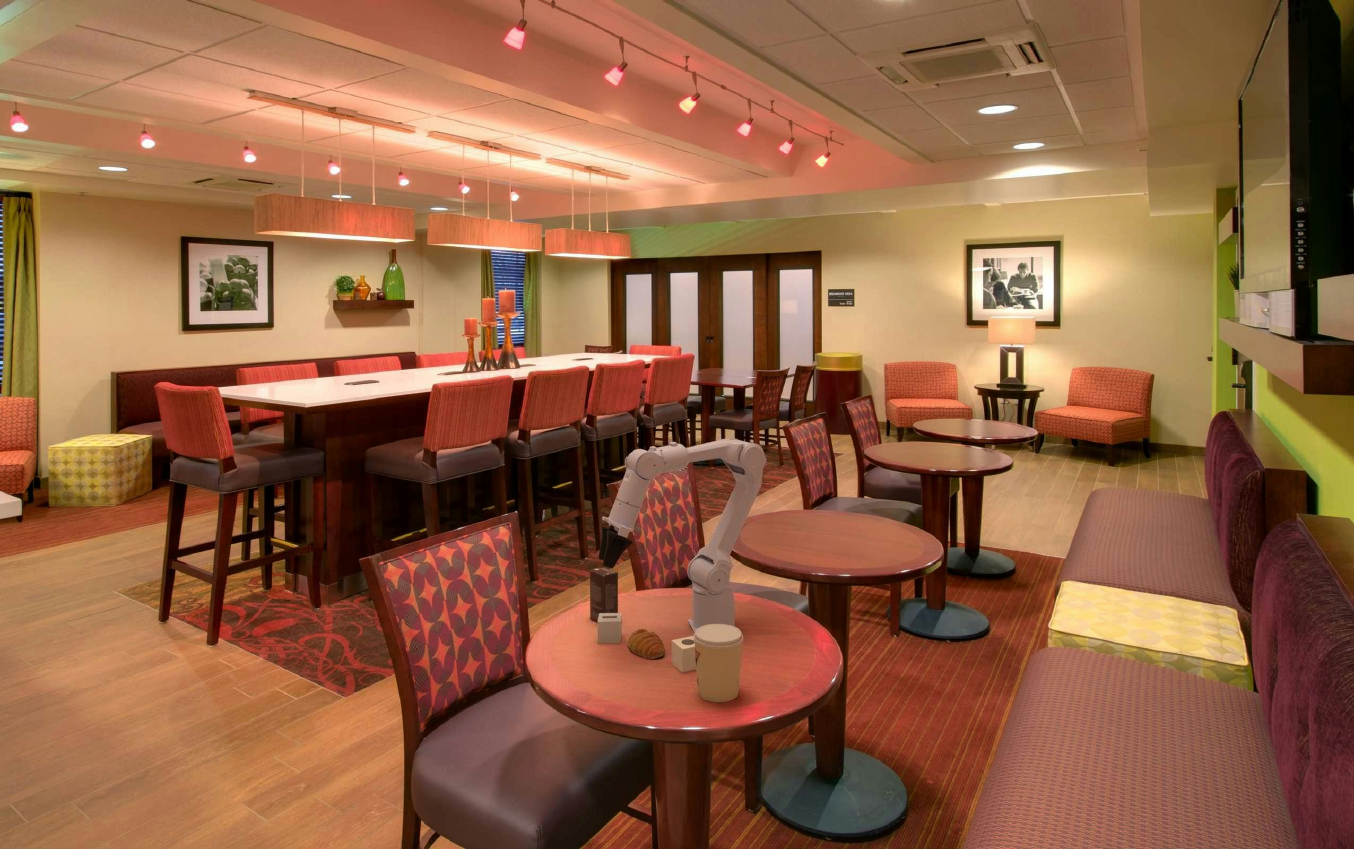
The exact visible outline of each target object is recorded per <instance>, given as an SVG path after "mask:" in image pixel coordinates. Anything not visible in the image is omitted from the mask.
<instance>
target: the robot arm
mask: <svg viewBox="0 0 1354 849" xmlns="http://www.w3.org/2000/svg"><path fill="white" fill-rule="evenodd" d="M716 459H721V461H723V463H724V464H725V466H726V467H728V469H729V470H730V472H731V473H732V475H733V478H734V481H735V486H734V488H733V490H732V492H731V494H730V496H729V499H728V501H727V503H726V505H725V507H724V509H723V511H722V513H721V516H720V518H719V520H718V522H717V525H716V527H715V529H714V531H713V533H712V536H711V537H710V540H709V542H708V543H707V544H706V545H705V546H703V547H702V548H700V549H699V550H698V551H697V554H696V555H695V557H693V559H692V560H690V561H689V563H688V566H687V569H686V570H687V571H686V572H687V577H688V579H689V580H691V583H692V584H691V586H692V618H689V619H687V622H688V624H689V625H690V627H691V629H692V631H693V634H694V633H695V631H696V630H697V629H698V628H699V627H701V626H704V625H709V624H726V625H731V626H734V627H736V625H735V624H736V623H735V618H736V615H735V614H736V611H735V610H736V609H735V608H736V607H735V606H736V602H735V594H734V591H733V588H731V587H728V586H729V584H730V581H731V572H732V569H733V567H734V566H733V562H732V558H731V553H732V551H733V549H734V546H735V544H736V542H737V540H738V537H739V536H740V533H741V531H742V530H743V527H744V525H745V522H746V521H747V518H748V516H749V513H750V512H751V509H752V508H753V505H754V503H755V501H756V498H757V496H758V494H759V492H760V489H761V487H762V483H763V470H764V467H765V465H766V463H767V460H768V459H767V457H766V455H765V451H764V450H763V447H762V446H761V445H760V444H757V443H755V442H754V443H753V442H747V441H744V440H739V439H738V438H733V437H732V438H729V439H727V438H722V439H718V440H714V441H711V442H706V443H702V444H698V445H693V446H690V447H689V446H688V447H686V446H684V445H683V444H681V443H677V442H675V441H671V442H669V443H668V445H665V446H660V447H656V446H653V445H652V446H649V449H648V450H645V449H642V448H637V449H634V450H633V451H632V452H630V453H629V454H628V456H626V457H625V459H624V466H625V472H624V473H625V474H624V476H623V478H622V481H621V484H620V487H619V489H618V492H617V494H616V497H615V499H614V503H613V505H612V508H611V510H610V513H609V516H608V517H606V516H604V515H603V516H602V518H601V519H602V521H604V522H606V523H608V526H606V525H601V526H600V527H601V528H600V529H601V539H600V540H601V541H600V547H599V552H598V560H601V561H603V562H602V565H603V567H605V568H608V569H610V570H613V568H614V567H615V566H616V564H617V563H618V562H619V559H620V558H621V556H622V555H623V553H624V552H625V551H626V550H627V549H628V547H630V546H631V545H632V544H633V542H634V541H633V540H631V539H630V538H628V537H629V533H630V532H633V531H634V529H635V527H634V526H635V524H636V521H637V518H638V515H639V514H640V510H641V508H642V505H643V504H644V503H643V502H644V500H645V498H646V494H647V492H648V490H649V488H650V484H651V481H652V480H654V479H656V478H657V477H658V476H659V475H661V474H667V473H671V472H676V471H682V470H684V469H686V468H687V467H688V465H689V463H694V462H701V461H702V462H703V461H710V460H716Z"/></svg>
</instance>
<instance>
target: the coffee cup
mask: <svg viewBox="0 0 1354 849" xmlns="http://www.w3.org/2000/svg"><path fill="white" fill-rule="evenodd" d="M693 636H694V643H695V660H696V670H695V672H696V687H697V694H698V696H699V697H700V698H701V699H703V700H705V701H708V702H712V703H727V702H730V701H733V700H734V699H736V698H737V697H738V695H739V690H740V689H739V688H740V679H741V678H740V676H741V665H742V651H743V641H744V635H743V633H742V631H741V630H740V628H738V627H736V626H735V627H734V626H731V625H726V624H709V625H704V626H701V627H699V628H698V629H697V630H696V631H695V633H694V632H693Z"/></svg>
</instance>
